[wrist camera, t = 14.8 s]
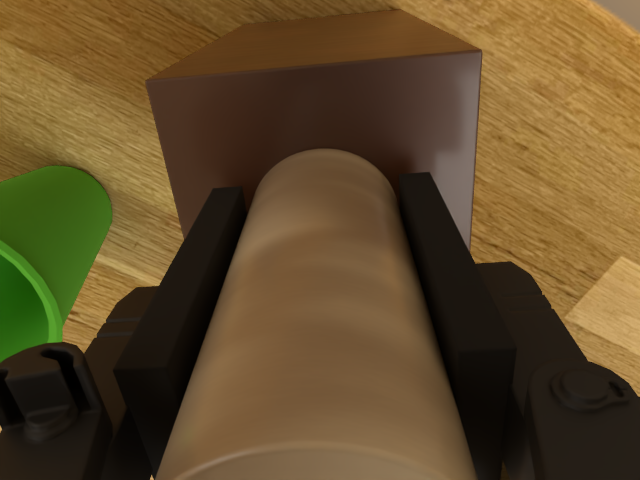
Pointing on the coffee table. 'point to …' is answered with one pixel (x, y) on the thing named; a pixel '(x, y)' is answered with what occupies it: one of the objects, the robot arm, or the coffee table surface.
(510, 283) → the robot arm
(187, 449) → the tan wooden cylinder
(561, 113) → the coffee table surface
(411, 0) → the coffee table surface
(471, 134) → the dark brown rectangular block
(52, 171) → the cup
